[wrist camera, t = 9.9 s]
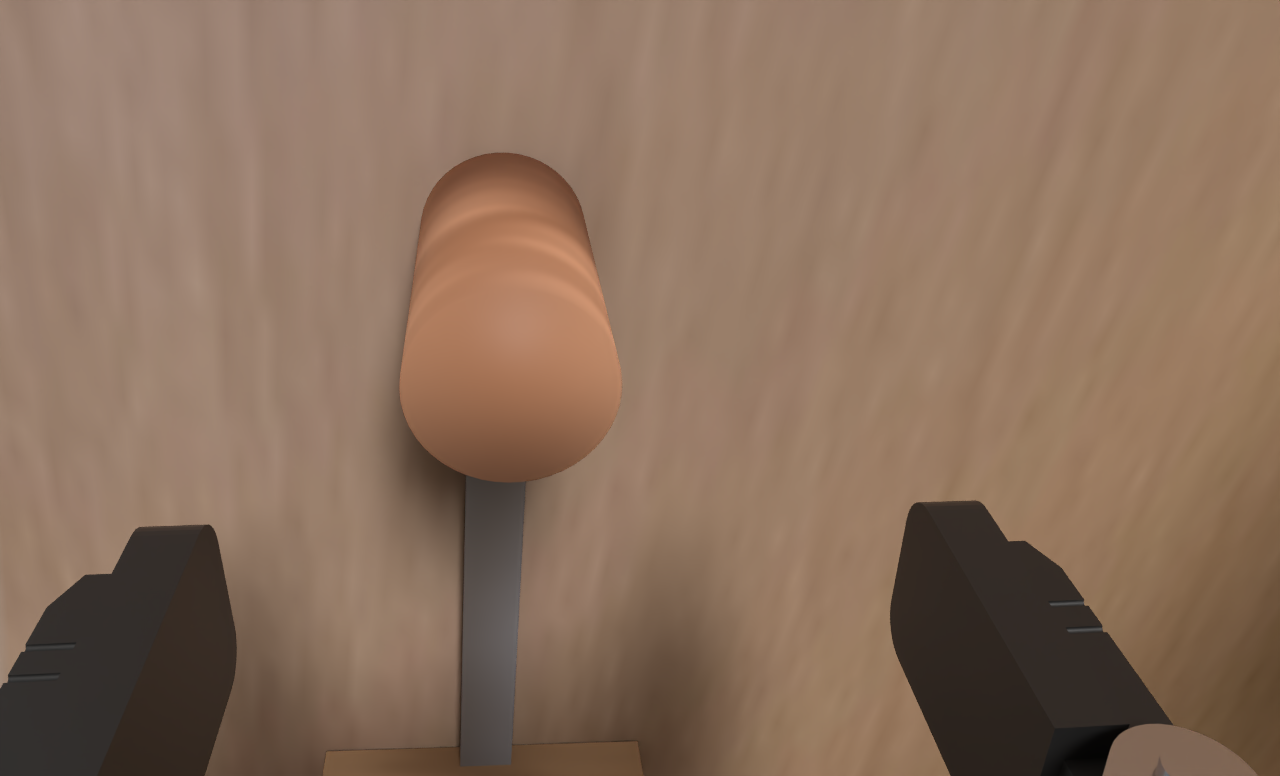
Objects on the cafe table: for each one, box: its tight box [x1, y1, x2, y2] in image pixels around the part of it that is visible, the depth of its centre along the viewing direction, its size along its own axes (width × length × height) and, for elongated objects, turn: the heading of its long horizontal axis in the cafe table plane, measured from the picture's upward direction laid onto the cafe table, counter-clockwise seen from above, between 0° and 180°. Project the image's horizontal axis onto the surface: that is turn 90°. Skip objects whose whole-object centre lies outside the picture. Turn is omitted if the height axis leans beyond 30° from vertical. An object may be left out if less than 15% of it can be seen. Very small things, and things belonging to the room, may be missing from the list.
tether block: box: [322, 153, 643, 776], centre depth 21 cm, size 8×21×6 cm, turn 175°
